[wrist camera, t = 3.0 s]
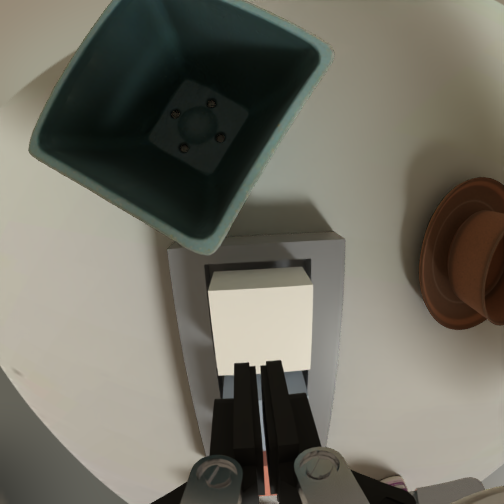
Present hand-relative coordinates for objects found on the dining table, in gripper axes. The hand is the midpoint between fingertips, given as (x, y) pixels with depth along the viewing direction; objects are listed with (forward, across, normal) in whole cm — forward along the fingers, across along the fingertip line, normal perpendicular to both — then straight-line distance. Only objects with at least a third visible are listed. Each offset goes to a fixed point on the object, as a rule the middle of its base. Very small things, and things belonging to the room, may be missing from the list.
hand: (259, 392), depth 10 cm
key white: (+8, -1, 0) cm, 8 cm away
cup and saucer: (+10, -18, -2) cm, 20 cm away
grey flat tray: (+10, -1, +7) cm, 12 cm away
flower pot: (+10, +2, -11) cm, 15 cm away
